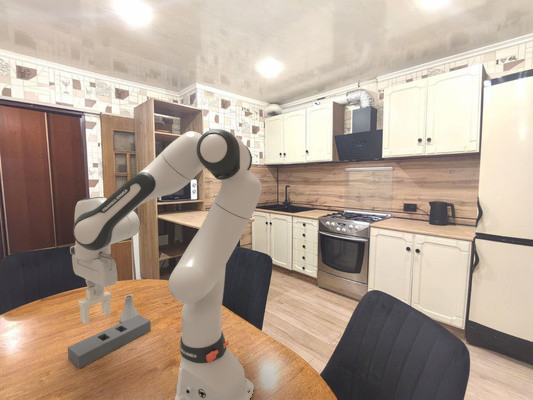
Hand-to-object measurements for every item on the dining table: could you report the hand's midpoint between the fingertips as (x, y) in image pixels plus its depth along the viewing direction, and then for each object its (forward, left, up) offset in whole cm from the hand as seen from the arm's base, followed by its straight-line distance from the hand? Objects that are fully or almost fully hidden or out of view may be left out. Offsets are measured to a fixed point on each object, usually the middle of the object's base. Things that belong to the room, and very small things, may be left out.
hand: (95, 293), depth 78 cm
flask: (+18, -20, -24) cm, 36 cm away
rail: (+7, -8, -23) cm, 25 cm away
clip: (0, 0, -8) cm, 8 cm away
